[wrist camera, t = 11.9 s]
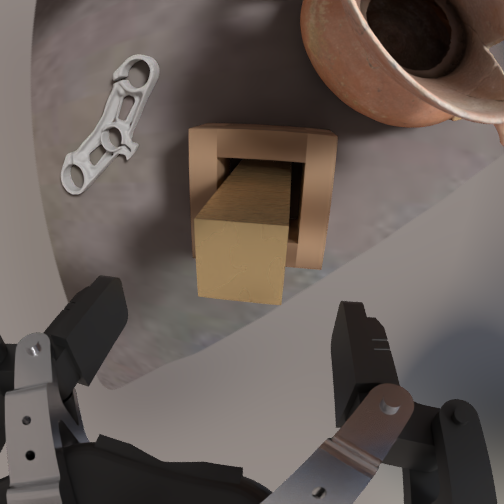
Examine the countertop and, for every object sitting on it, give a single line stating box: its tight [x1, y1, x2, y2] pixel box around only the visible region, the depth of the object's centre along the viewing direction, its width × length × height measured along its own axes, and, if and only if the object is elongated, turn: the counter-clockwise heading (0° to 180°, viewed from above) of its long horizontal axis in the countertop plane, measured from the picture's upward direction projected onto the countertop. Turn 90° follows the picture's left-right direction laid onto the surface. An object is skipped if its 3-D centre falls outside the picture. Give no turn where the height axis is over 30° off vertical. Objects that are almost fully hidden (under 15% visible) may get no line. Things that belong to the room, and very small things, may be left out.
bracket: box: [61, 55, 159, 194], centre depth 25 cm, size 8×2×15 cm
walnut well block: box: [189, 123, 338, 270], centre depth 24 cm, size 10×10×5 cm
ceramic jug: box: [300, 0, 504, 146], centre depth 13 cm, size 18×14×14 cm
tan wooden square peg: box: [194, 159, 292, 305], centre depth 20 cm, size 4×4×14 cm
